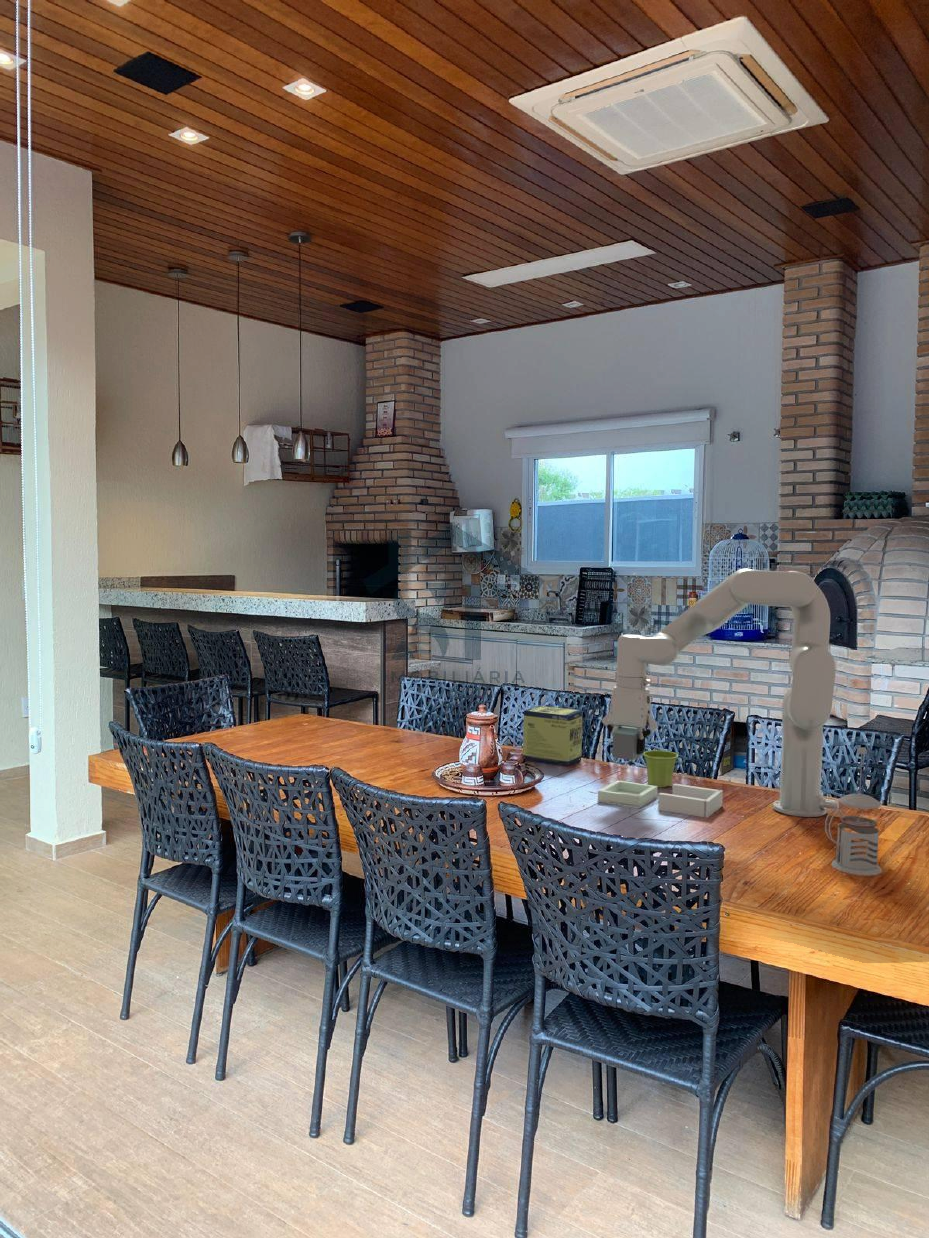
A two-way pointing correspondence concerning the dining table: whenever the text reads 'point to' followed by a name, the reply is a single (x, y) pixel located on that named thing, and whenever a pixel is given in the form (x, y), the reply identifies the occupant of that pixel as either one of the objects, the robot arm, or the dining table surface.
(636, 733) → the grey cube with lid
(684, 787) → the bay
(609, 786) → the tray
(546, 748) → the protein box
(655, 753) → the plant pot
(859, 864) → the french press
